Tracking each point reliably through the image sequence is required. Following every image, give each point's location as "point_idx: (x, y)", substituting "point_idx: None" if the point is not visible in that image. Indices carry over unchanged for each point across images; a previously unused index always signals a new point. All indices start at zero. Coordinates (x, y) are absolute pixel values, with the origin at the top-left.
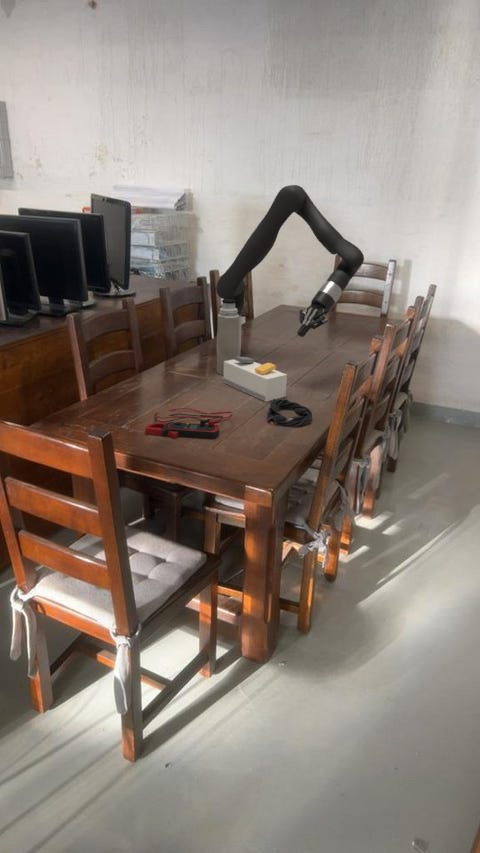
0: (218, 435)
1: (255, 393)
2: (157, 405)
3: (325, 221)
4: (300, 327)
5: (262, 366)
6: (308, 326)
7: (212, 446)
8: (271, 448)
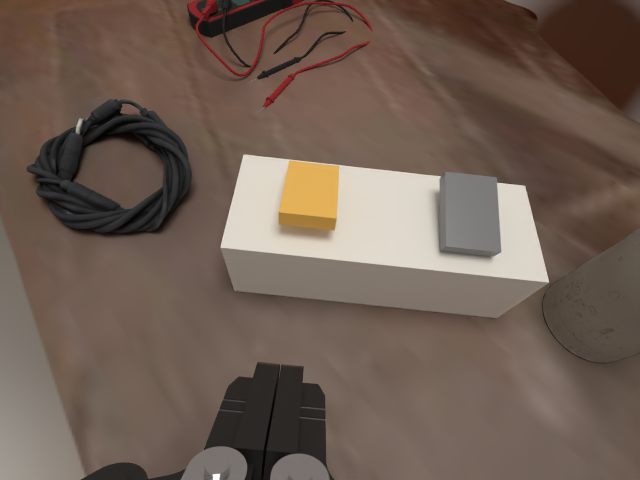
0: (193, 26)
1: None
2: (408, 45)
3: None
4: (321, 436)
5: (326, 186)
6: (184, 470)
7: (171, 3)
8: (63, 45)
